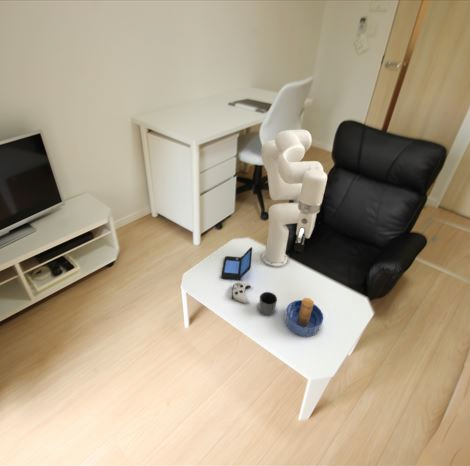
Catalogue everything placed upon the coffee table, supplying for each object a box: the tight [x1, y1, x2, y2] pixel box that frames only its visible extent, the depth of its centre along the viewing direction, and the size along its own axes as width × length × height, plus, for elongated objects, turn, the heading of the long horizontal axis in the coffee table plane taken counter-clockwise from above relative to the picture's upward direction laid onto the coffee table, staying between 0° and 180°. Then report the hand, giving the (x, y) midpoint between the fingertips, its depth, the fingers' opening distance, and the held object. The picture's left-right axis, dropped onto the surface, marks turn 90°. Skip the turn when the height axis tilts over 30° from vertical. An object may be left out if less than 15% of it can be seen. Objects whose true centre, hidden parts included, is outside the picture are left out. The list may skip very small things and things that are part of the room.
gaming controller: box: [231, 281, 251, 305], centre depth 139 cm, size 11×6×7 cm
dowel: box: [297, 297, 315, 327], centre depth 123 cm, size 4×4×12 cm
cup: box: [258, 291, 278, 316], centre depth 131 cm, size 7×7×7 cm
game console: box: [220, 246, 253, 282], centre depth 150 cm, size 16×13×9 cm
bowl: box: [284, 299, 324, 338], centre depth 126 cm, size 14×14×6 cm
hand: (301, 243), depth 120 cm, fingers open, 9 cm apart
